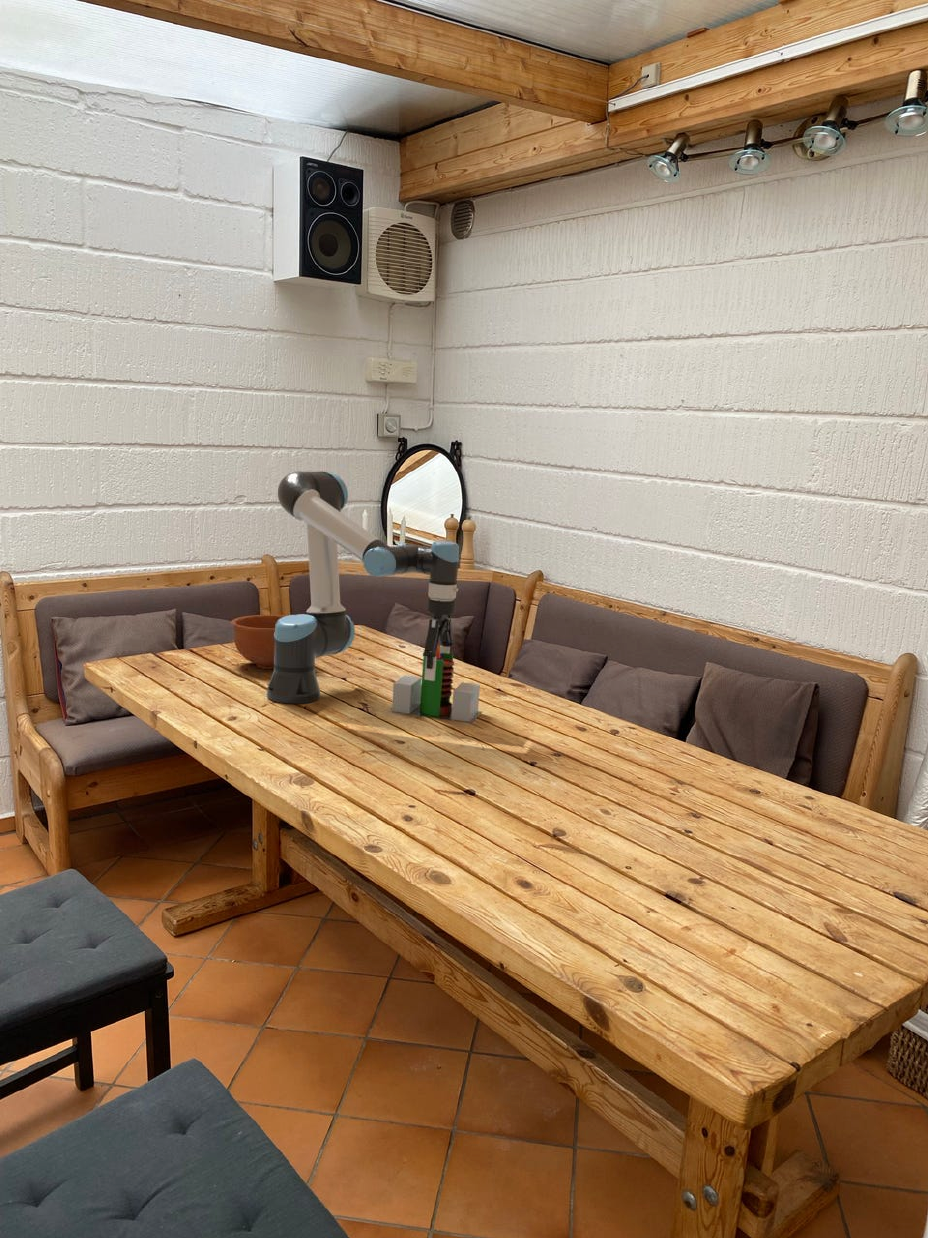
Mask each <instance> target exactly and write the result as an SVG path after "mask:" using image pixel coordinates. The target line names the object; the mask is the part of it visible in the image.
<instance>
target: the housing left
mask: <svg viewBox="0 0 928 1238" xmlns="http://www.w3.org/2000/svg"><path fill="white" fill-rule="evenodd" d="M421 679H422V676H413V675H402V676H401V677H400V678H398V679H397V680H396V681H394V682H393V684H392V686H393V687H392V689H393V690H392V707H391V709H392V711H394V712H401V713H409V714H410V713H411V712H412V711H413V710H414V709H415V708H417V707H418V706H419V705H420V695H421Z"/></svg>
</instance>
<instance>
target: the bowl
mask: <svg viewBox="0 0 928 1238" xmlns="http://www.w3.org/2000/svg"><path fill="white" fill-rule="evenodd" d="M285 616H286V615H285V614H283V615H282V614H258V615H256V614H254V615H246V616H240V617H236V618H234V619H232V620H231V621H230V624H231V626H232V627H233V629H234V631H233V634H234V637H233V641H234V644H235V645H234V646H235V648H236V650H237V652H238V653H239V654H240V655H241V656H242V657H243V658H244V659H245V660H247V661H249V662H251V663H254V664H256V667H257V668H260V669H266V670H267V669H268V670H269V669H271V670H274V633H275V625H276V622H277V621H278V620H279V619H281V618H283V617H285Z"/></svg>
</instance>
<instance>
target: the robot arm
mask: <svg viewBox="0 0 928 1238" xmlns="http://www.w3.org/2000/svg"><path fill="white" fill-rule="evenodd" d="M277 499H278V502H279V503H280V505H281V507H282V508H283V509H284V510H285V511H286V513H288V514H289V515H290V516H292V518H293V517H294V518H295V519H296V520H298V521H303V522H304V523H305V525H306V530H307V549H308V550H307V552H308V566H309V585H310V601H311V602H310V604H311V605H310V606H309V608H307V610H306V614H304V613H302V614H301V613H299V614H290V615H285V617H283V618H281V619H279V620H278V621H277V622H276V625H275V633H274V669H273V672H272V675H271V678H270V680H269V683H268V686H267V689H266V698H267V699H268V700H270V701H272V702H276V703H282V704H293V705H295V704H307V703H313V702H316V701H319V699H320V697H321V689H320V685H319V681H318V678H317V674H316V672H315V670H316V659H317V658H321V657H325V656H329V655H331V656H333V655H337V654H339V653H342V652H344V651H346V650H348V649H349V648H350V647H351V645H352V644H353V641H354V640H355V634H356V632H355V631H356V629H355V625H354V622H353V621H352V620H351V619H352V618H351V617H350V616H349V615H347V609H346V607H344V606H343V604H341V591H340V590H341V589H340V570H339V555H338V553H339V551H338V549H339V548H338V545H339V546H340V547H342V548H343V549H344V550H346V551H347V552H348V553H350V554H351V555H353V556H354V557H355V558H357V559H358V560H360V561H361V562H363V568H364V569H365V570H366V573H367V574H368V575H370V576H372V577H375V578H376V577H381V578H383V577H384V578H385V577H389V576H390V577H391V576H396V575H402V574H403V575H404V574H409V573H410V574H411V573H417V574H424V575H427V576H428V575H429V583H428V592H427V594H428V600H427V612H428V613H429V614H433V619H429V622H428V623H429V624H428V630H427V635H426V641H425V645H424V646H425V647H424V650H423V652H422V657H424V656H426V664H425V678H424V679H425V680H432V681H434V680H435V670H436V657H435V656H436V651H437V647H438V644H439V646H440V653H449V654H450V647H454V642H453V632H452V629H453V628H452V615H454V614H455V613H456V604H457V603H456V600H455V599H456V598H457V593H458V591H459V588H458V587H457V584H458V573H459V563H460V546H459V544H458V543H456V542H454V541H453V542H452V541H445V540H444V541H443V540H435V541H433V542H432V543H431V546H425V545H419V544H414V543H412V542H411V543H410V542H409V543H407V542H406V543H405V542H403V543H402V542H401V543H398V544H397V545H396V546H390V545H388V544H386V543H385V542H383V540H381V539H379V538H378V537H377V536H375V535H373V534H372V533H371V532H370V531H368V530H367V529H365V528H363V527H362V526H361V525H360V524H358V523H357V522H355V521H354V520H353V519H351V518H349V516H346V515H345V514H344V513H342V510H343V509H344V508H345V507H346V504H348V503H347V502H348V500H349V493H348V487H347V485H346V483H345V481H344V480H343V479H342V478H341V476H339V475H338V474H337V473H333V472H329V471H328V472H327V471H294V472H290V473H288V474H287V475H286V476H284V477H283V478H282V479H281V480H280V483H279V484H278V488H277Z"/></svg>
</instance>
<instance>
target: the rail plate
mask: <svg viewBox="0 0 928 1238" xmlns="http://www.w3.org/2000/svg"><path fill="white" fill-rule="evenodd" d="M387 713H393V714H400V715H406V716H407V715H408V716H413V717H414V716H416V717H423V718H428V719H429V718H431V719H438V720H443V721H445V720H446V721H453V722H459V723H461V722H462V723H468V724H473V723H474V722H475V721H476V720H477V719H478V718H479V717H480V715H481V714H482V713H483V711H480V710H478V713H477V714H476V715H475V716H474V717H473V718H472V719H471V720H470V721H461V720H454V719H452V712H451V714H448V715H439V716H431V715H427V714H424V713H422V712H420V705H419V706H418V707H417V708H415V709H414V710H413V711H412V712H411V713H410V714H409V713H401V712H394V711H392V708H390V709H389V710H388V711H387Z"/></svg>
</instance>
